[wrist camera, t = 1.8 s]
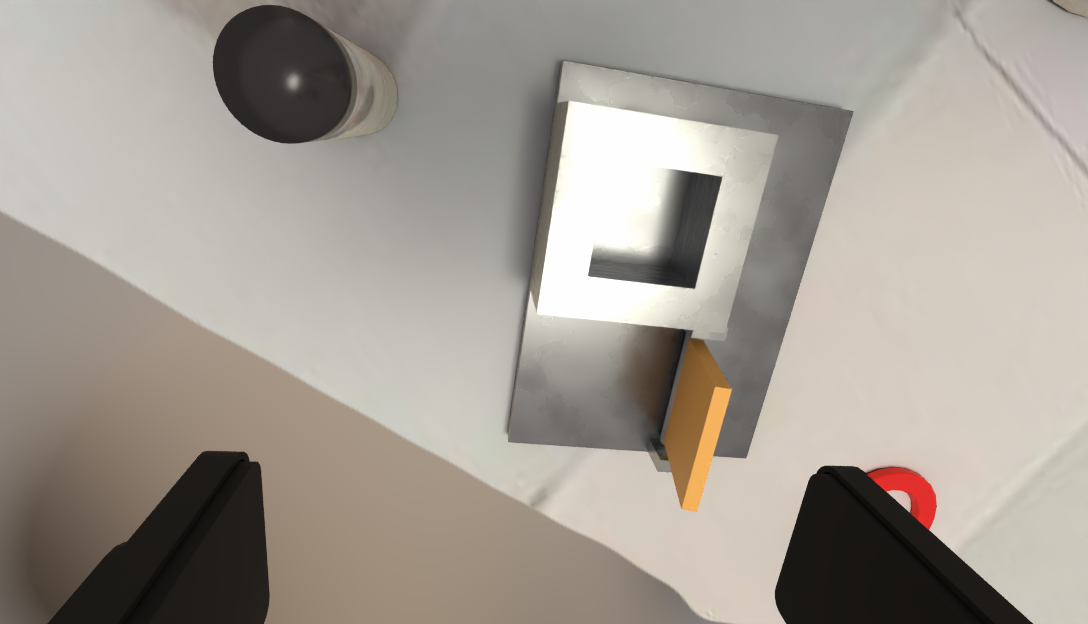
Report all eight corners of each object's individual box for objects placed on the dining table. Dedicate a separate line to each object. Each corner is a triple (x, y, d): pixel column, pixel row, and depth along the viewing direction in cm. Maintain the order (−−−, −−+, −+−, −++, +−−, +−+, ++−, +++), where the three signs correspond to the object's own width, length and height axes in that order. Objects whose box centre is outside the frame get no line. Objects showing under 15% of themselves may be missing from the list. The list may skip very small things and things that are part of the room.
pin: (316, 42, 26) (209, -7, 16) (400, 56, 27) (349, 18, 17) (315, 128, 28) (215, 133, 17) (395, 140, 28) (345, 151, 18)
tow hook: (906, 443, 39) (795, 509, 40) (1107, 583, 27) (944, 676, 28) (937, 519, 42) (833, 580, 43) (1130, 676, 30) (982, 759, 30)
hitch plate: (560, 62, 28) (576, 51, 23) (841, 111, 30) (907, 110, 26) (507, 433, 35) (511, 482, 30) (739, 449, 37) (776, 497, 33)
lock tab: (685, 326, 33) (714, 380, 25) (702, 329, 33) (735, 384, 25) (658, 436, 35) (678, 513, 28) (674, 438, 35) (697, 516, 28)
